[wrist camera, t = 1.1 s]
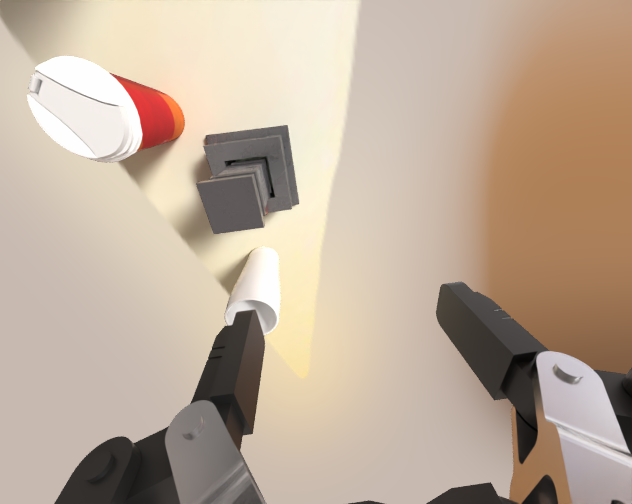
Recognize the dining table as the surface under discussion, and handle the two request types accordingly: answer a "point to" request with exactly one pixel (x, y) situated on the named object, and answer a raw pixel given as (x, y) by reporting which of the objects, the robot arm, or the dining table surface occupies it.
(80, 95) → the paper cup
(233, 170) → the column
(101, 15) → the dining table surface
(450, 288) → the robot arm
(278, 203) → the sleeve
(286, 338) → the dining table surface
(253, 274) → the drinking glass
